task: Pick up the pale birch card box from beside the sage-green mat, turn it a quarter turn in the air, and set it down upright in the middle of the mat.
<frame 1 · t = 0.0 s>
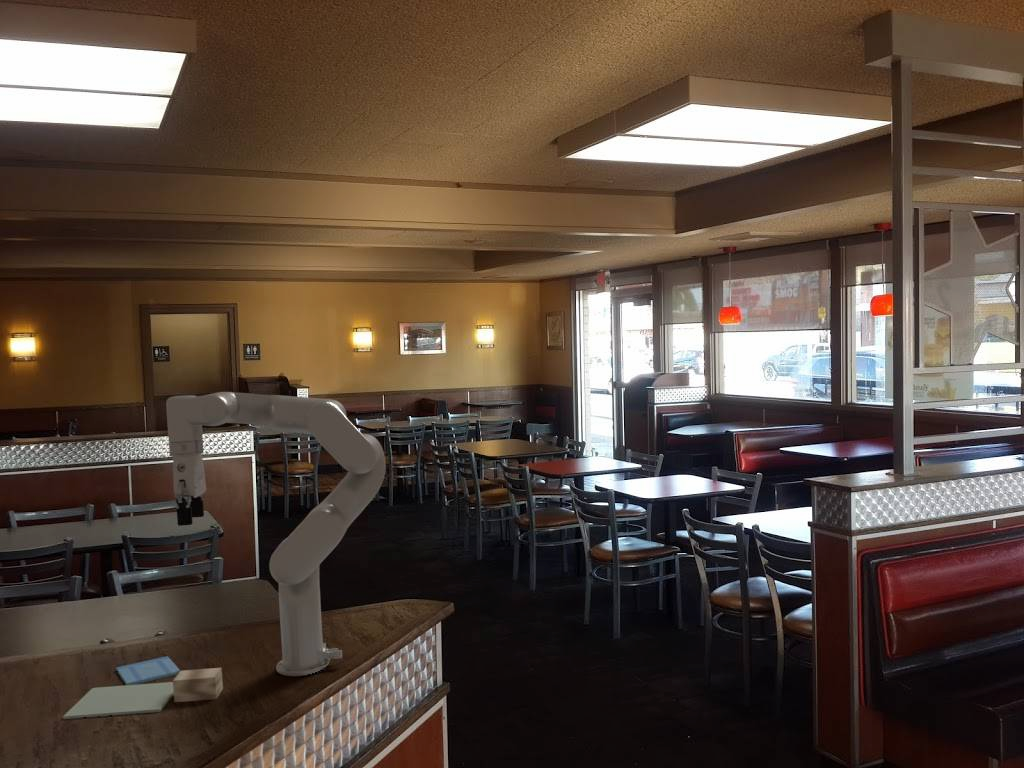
hand: (191, 520, 211), 37 cm above the worktop, tool pointing down, fingers open, 9 cm apart
waterproof phone case: (147, 674, 217), on the worktop
card mat: (125, 700, 199), on the worktop
card box: (199, 696, 200), on the worktop
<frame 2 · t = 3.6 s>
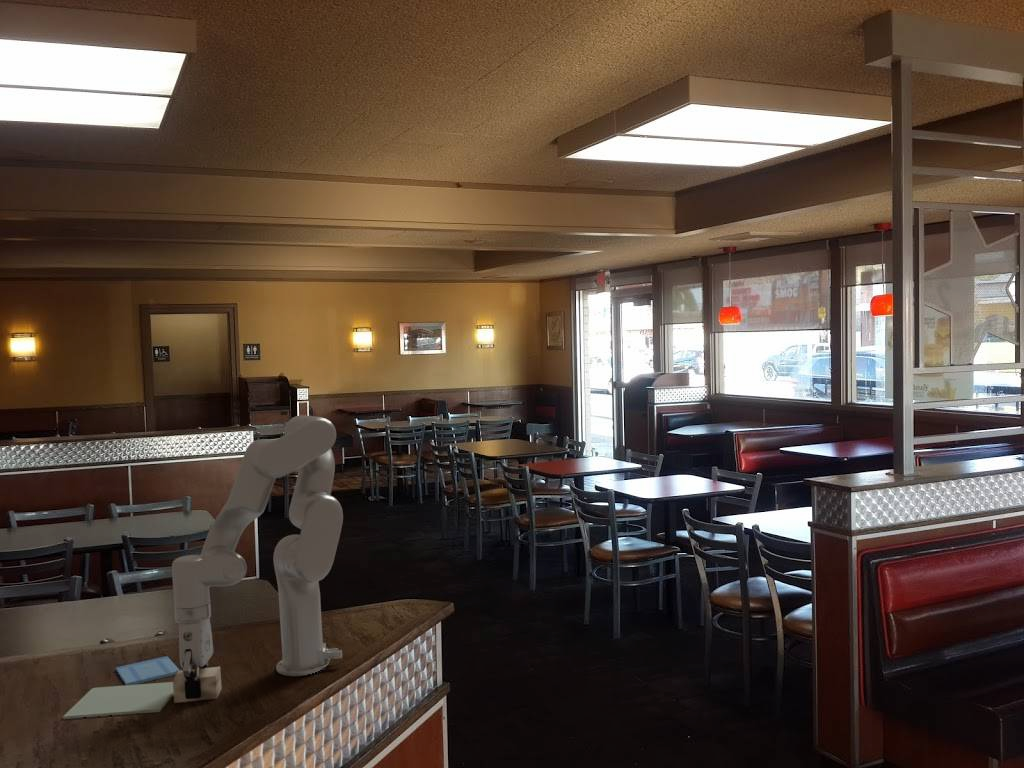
hand: (197, 691, 200), 1 cm above the worktop, tool pointing down, fingers closed on card box, 6 cm apart
card box: (198, 695, 200), on the worktop, touching gripper
everything else where it was.
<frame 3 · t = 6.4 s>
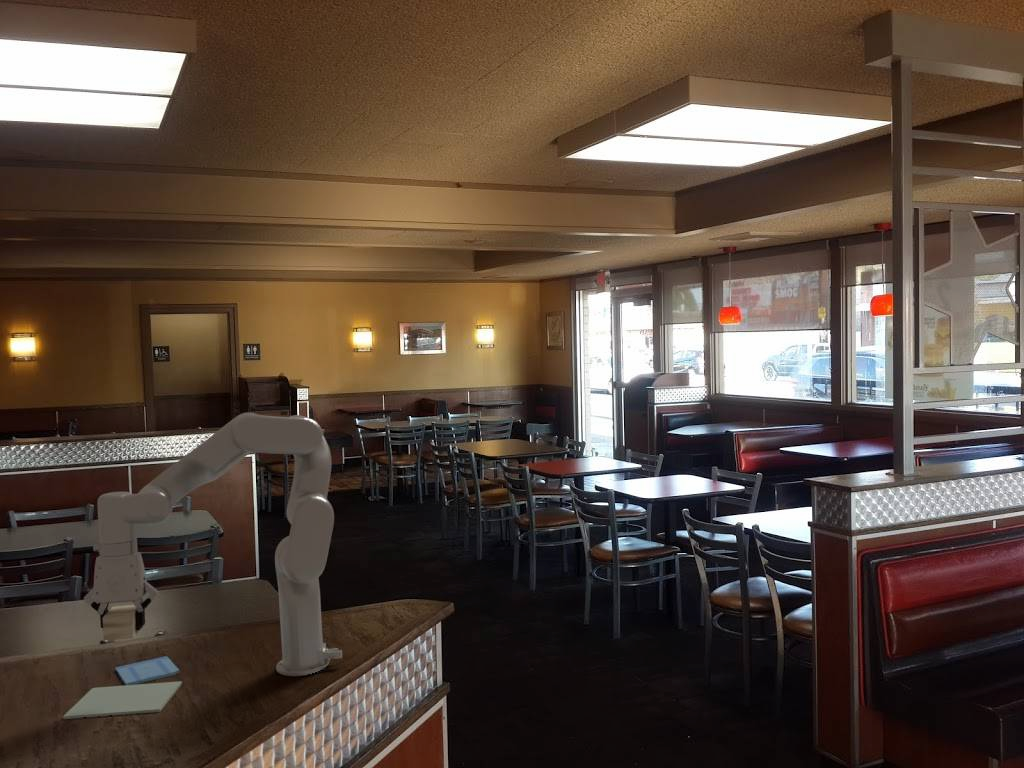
hand: (123, 628, 198), 16 cm above the worktop, tool pointing down, fingers closed on card box, 6 cm apart
card box: (123, 633, 198), point 15 cm above the worktop, touching gripper
everything else where it was.
when the fingers open (3 cm above the worktop, at t = 9.8 s): card box drops 2 cm, resting on card mat.
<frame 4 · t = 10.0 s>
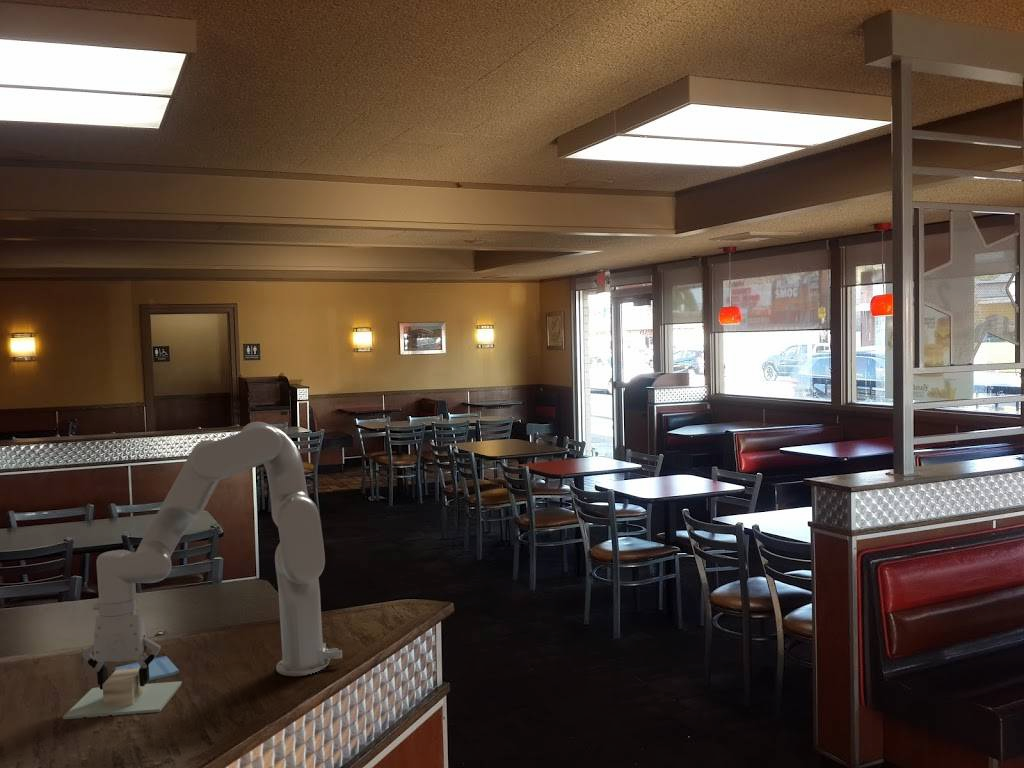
hand: (124, 685, 199), 3 cm above the worktop, tool pointing down, fingers open, 8 cm apart
card box: (125, 698, 199), point 1 cm above the worktop, touching card mat
everything else where it was.
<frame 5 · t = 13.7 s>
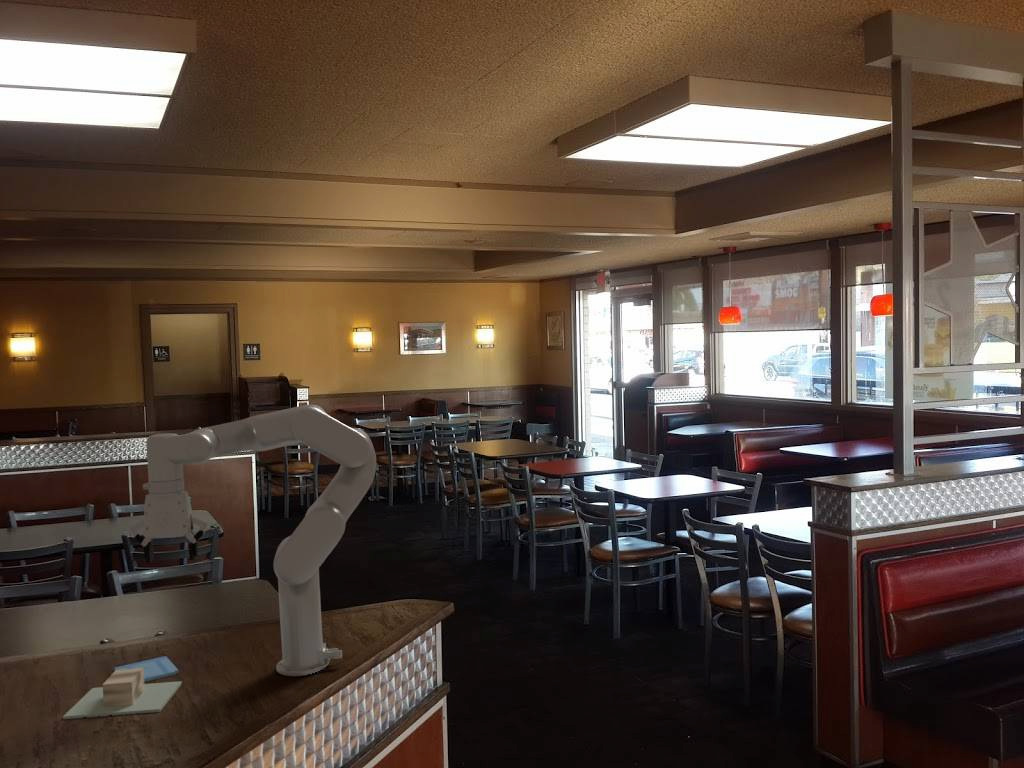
hand: (171, 560, 209), 28 cm above the worktop, tool pointing down, fingers open, 9 cm apart
nothing on the worktop moved.
at the end: card box inside the target area on the card mat (0.0 cm from its centre), point 0.6 cm above the card mat's base; card box tilted 0°; the gripper is holding nothing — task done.
